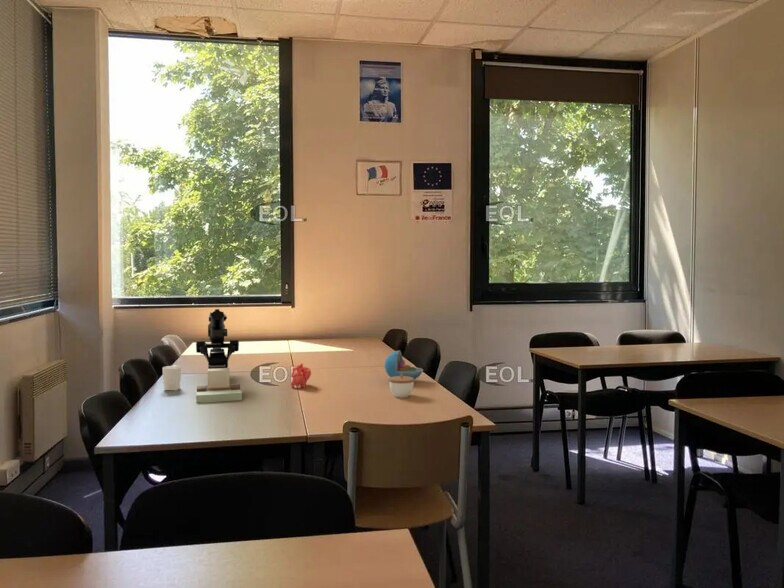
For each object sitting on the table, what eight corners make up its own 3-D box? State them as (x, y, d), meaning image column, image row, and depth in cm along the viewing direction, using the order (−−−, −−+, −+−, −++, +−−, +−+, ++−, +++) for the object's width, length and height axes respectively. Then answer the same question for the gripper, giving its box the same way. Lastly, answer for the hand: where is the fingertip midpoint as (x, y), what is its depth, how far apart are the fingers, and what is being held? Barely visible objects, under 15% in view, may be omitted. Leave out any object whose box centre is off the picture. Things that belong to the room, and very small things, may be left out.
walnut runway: (197, 392, 264) (197, 385, 263) (239, 390, 269) (239, 383, 269) (196, 399, 252) (196, 392, 252) (240, 396, 257) (240, 389, 257)
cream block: (207, 385, 264) (207, 368, 264) (229, 384, 267) (228, 367, 266) (207, 388, 259) (207, 371, 258) (229, 387, 261) (229, 370, 261)
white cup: (161, 391, 265) (161, 369, 264) (163, 387, 273) (163, 366, 272) (180, 390, 267) (180, 368, 267) (182, 387, 275) (181, 365, 274)
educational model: (420, 385, 282) (420, 353, 281) (381, 383, 286) (381, 352, 285) (425, 379, 297) (425, 349, 297) (388, 377, 301) (388, 347, 300)
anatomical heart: (307, 386, 285) (313, 363, 284) (306, 392, 273) (313, 368, 272) (288, 382, 284) (295, 358, 283) (287, 388, 272) (294, 363, 271)
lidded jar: (385, 394, 264) (385, 373, 263) (408, 392, 268) (408, 371, 267) (394, 399, 254) (394, 377, 253) (417, 397, 258) (417, 376, 257)
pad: (196, 399, 252) (196, 392, 252) (240, 396, 257) (240, 389, 257) (196, 402, 246) (196, 395, 245) (241, 400, 251) (241, 392, 251)
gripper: (195, 323, 272) (195, 351, 262) (238, 322, 278) (239, 349, 268) (196, 338, 280) (196, 366, 270) (237, 337, 286) (239, 364, 276)
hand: (217, 361), depth 271 cm, fingers open, 8 cm apart
